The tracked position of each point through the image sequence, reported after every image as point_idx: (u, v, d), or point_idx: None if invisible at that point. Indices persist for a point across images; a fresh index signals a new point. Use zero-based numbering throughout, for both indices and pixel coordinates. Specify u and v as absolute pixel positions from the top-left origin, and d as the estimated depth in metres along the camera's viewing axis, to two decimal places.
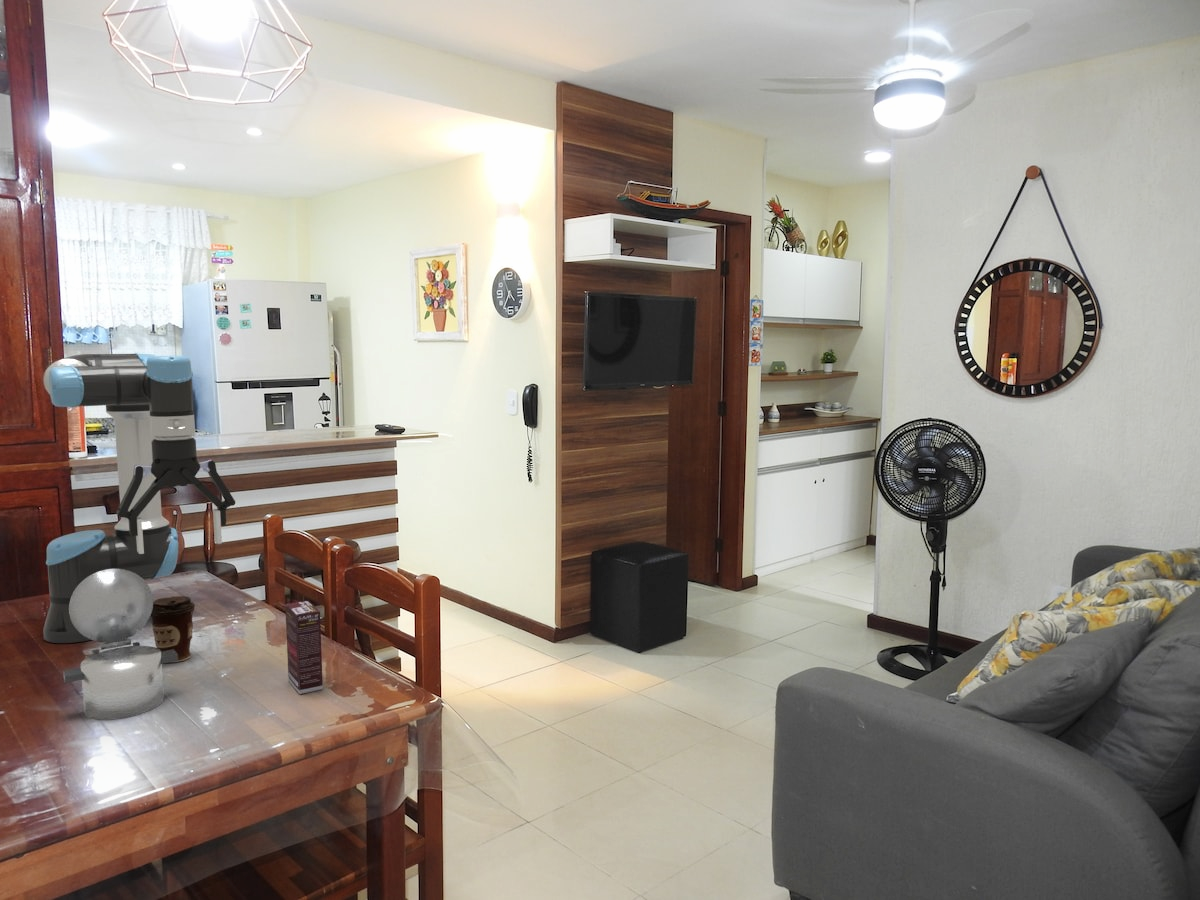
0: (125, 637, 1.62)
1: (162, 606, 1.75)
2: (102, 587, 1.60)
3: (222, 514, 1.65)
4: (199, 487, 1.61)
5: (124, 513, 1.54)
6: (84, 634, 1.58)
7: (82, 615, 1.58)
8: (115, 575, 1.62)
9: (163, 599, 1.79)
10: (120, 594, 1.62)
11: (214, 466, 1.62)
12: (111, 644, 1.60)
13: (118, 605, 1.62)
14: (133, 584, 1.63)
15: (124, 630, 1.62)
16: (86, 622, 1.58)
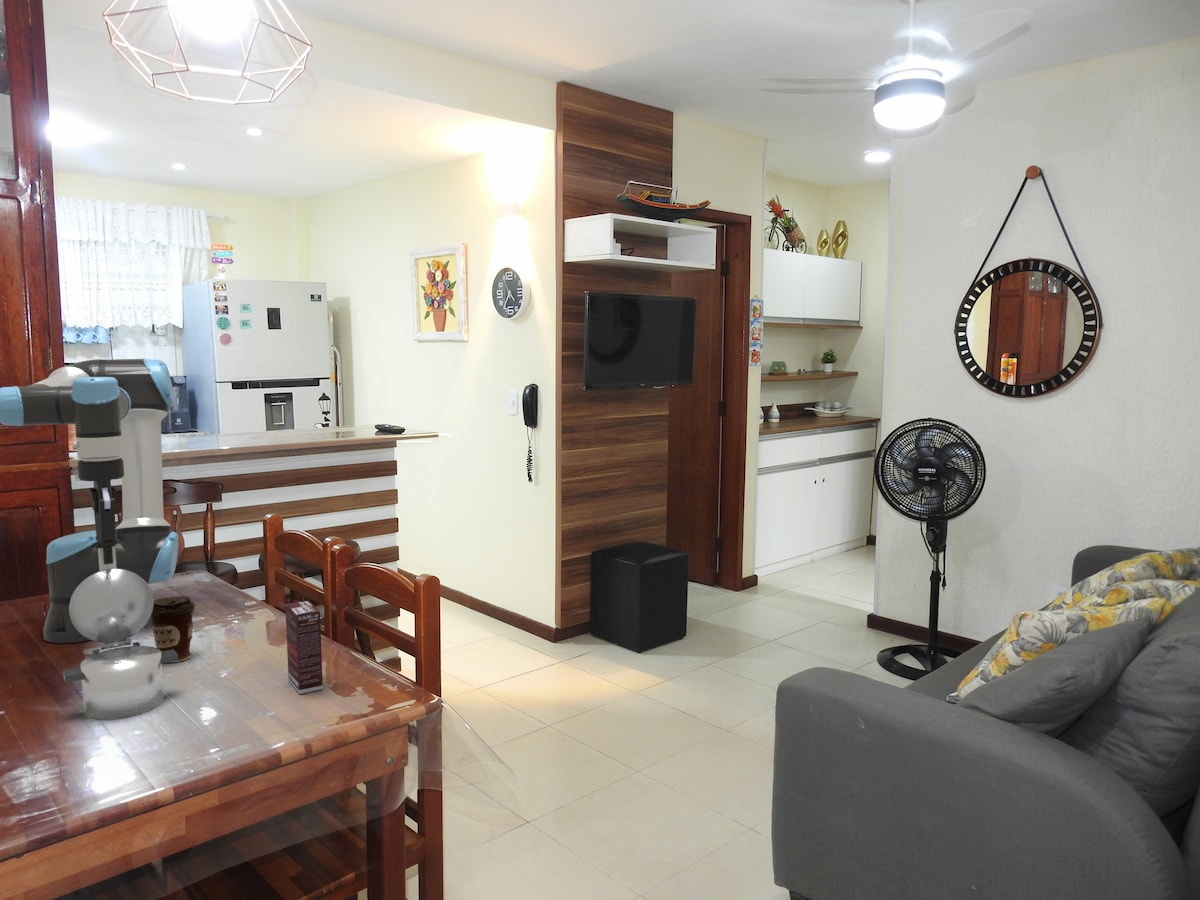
0: (125, 637, 1.62)
1: (162, 606, 1.75)
2: (103, 587, 1.60)
3: (103, 552, 1.60)
4: (97, 514, 1.59)
5: (96, 536, 1.63)
6: (84, 634, 1.58)
7: (82, 616, 1.58)
8: (116, 575, 1.61)
9: (163, 599, 1.79)
10: (120, 594, 1.62)
11: (100, 506, 1.55)
12: (111, 644, 1.60)
13: (119, 606, 1.61)
14: (134, 584, 1.63)
15: (124, 630, 1.62)
16: (86, 622, 1.58)
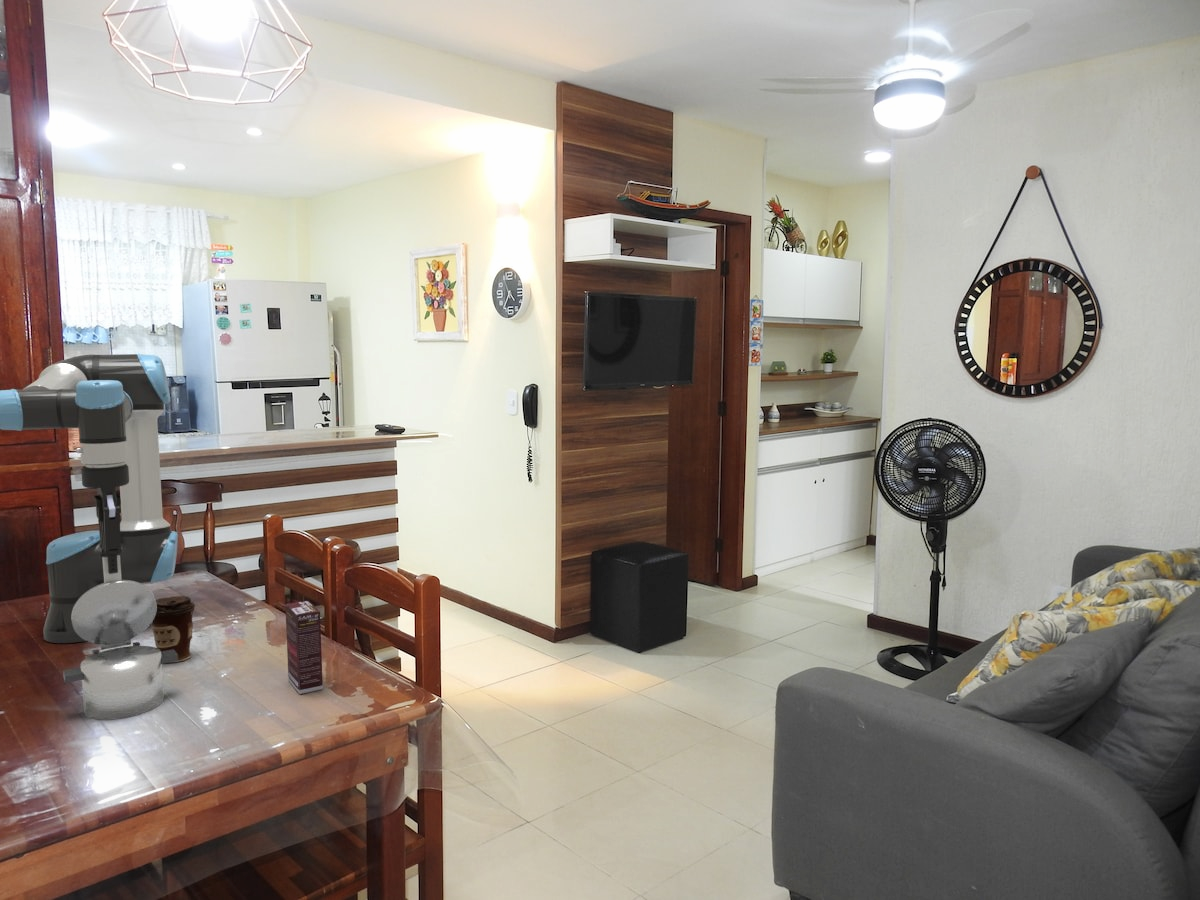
0: (126, 639, 1.62)
1: (162, 606, 1.75)
2: (107, 599, 1.56)
3: (108, 561, 1.55)
4: (101, 522, 1.54)
5: (100, 544, 1.58)
6: (85, 638, 1.57)
7: (84, 623, 1.55)
8: (121, 588, 1.56)
9: (163, 599, 1.79)
10: (124, 604, 1.58)
11: (104, 514, 1.50)
12: (111, 645, 1.60)
13: (121, 614, 1.59)
14: (138, 595, 1.59)
15: (125, 634, 1.61)
16: (87, 629, 1.56)
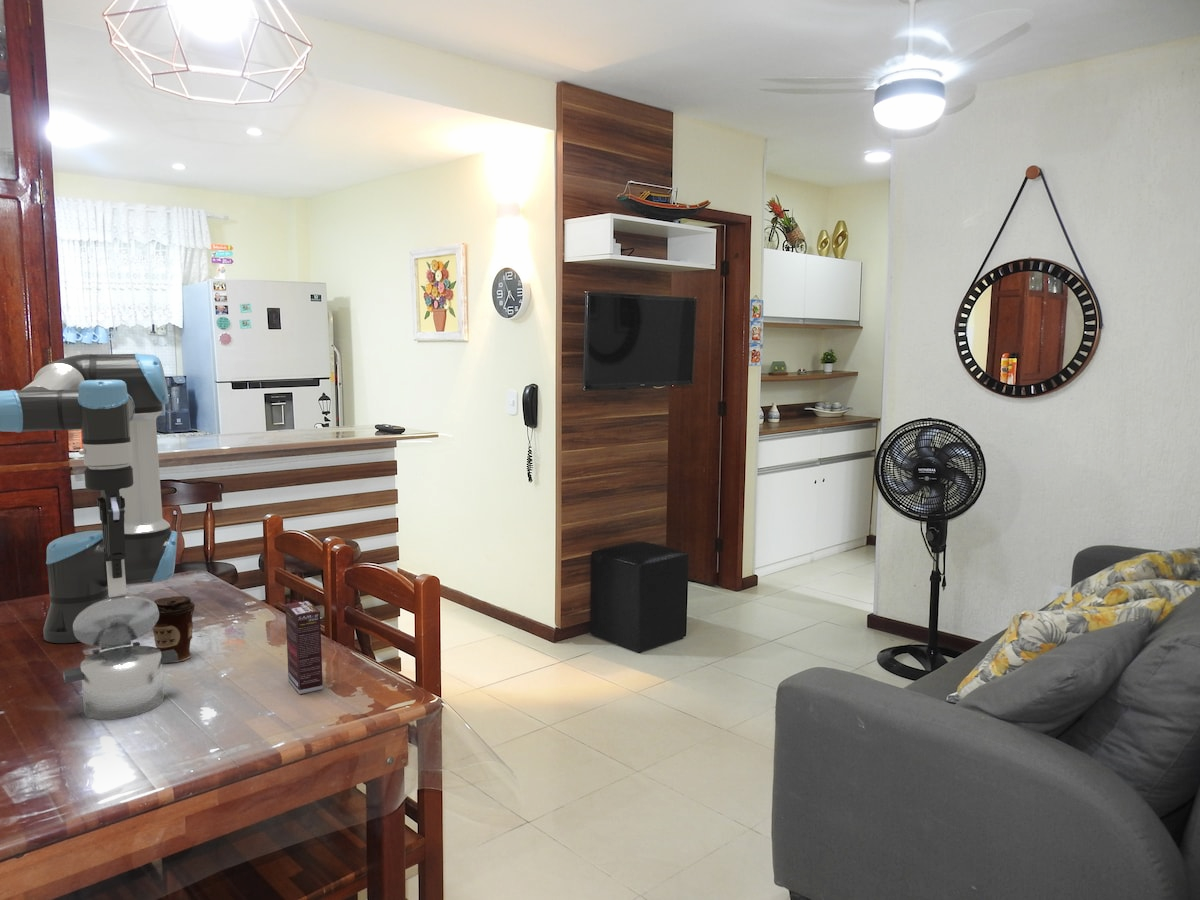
0: (126, 641, 1.62)
1: (162, 606, 1.75)
2: (110, 612, 1.54)
3: (112, 566, 1.51)
4: (105, 525, 1.50)
5: (104, 548, 1.54)
6: (86, 642, 1.56)
7: (86, 631, 1.54)
8: (124, 604, 1.54)
9: (163, 599, 1.79)
10: (127, 615, 1.56)
11: (108, 517, 1.46)
12: (111, 646, 1.60)
13: (123, 622, 1.57)
14: (141, 608, 1.57)
15: (126, 637, 1.61)
16: (88, 635, 1.55)
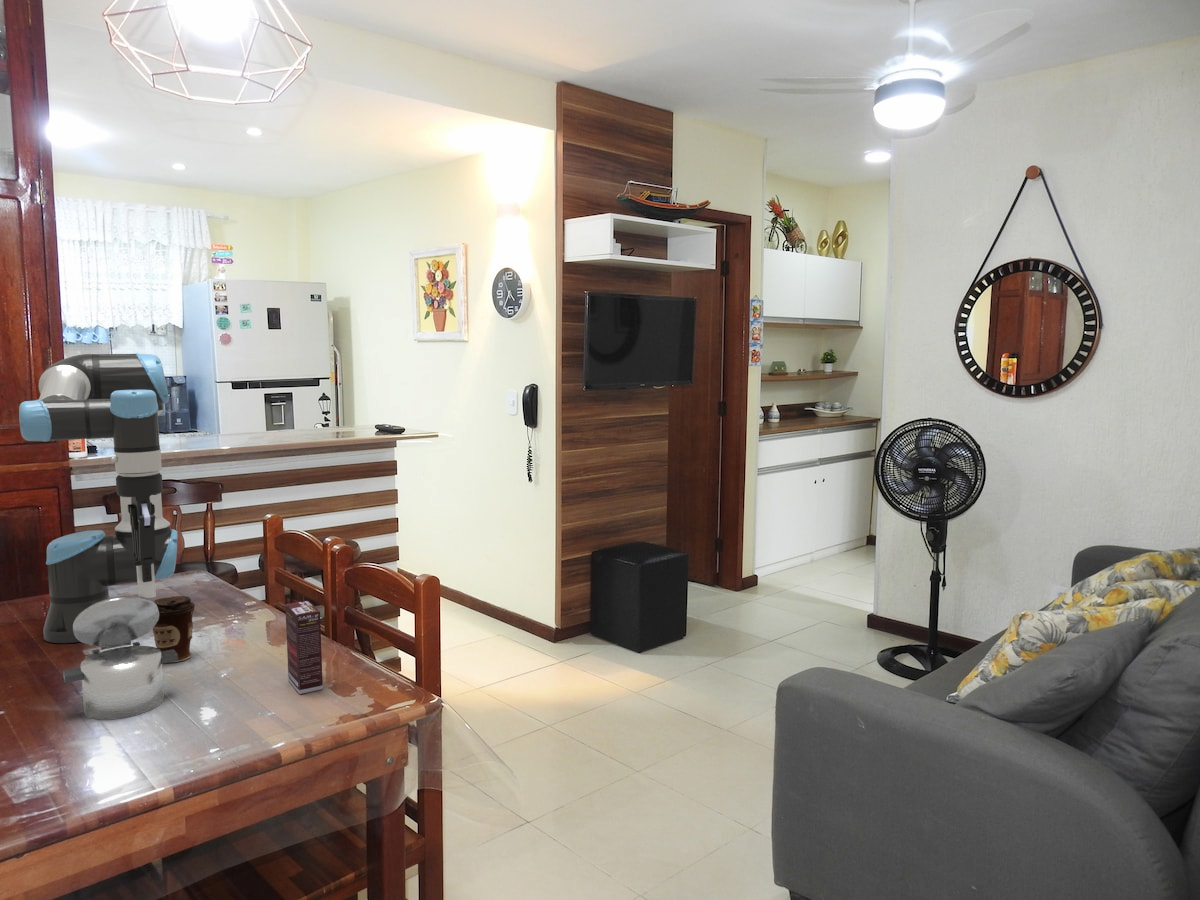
0: (126, 641, 1.62)
1: (162, 606, 1.75)
2: (110, 613, 1.54)
3: (142, 570, 1.56)
4: (136, 531, 1.55)
5: (134, 553, 1.58)
6: (86, 643, 1.56)
7: (86, 632, 1.54)
8: (124, 604, 1.54)
9: (163, 599, 1.79)
10: (127, 616, 1.56)
11: (139, 522, 1.51)
12: (111, 646, 1.60)
13: (123, 623, 1.57)
14: (141, 608, 1.57)
15: (126, 637, 1.61)
16: (89, 635, 1.55)
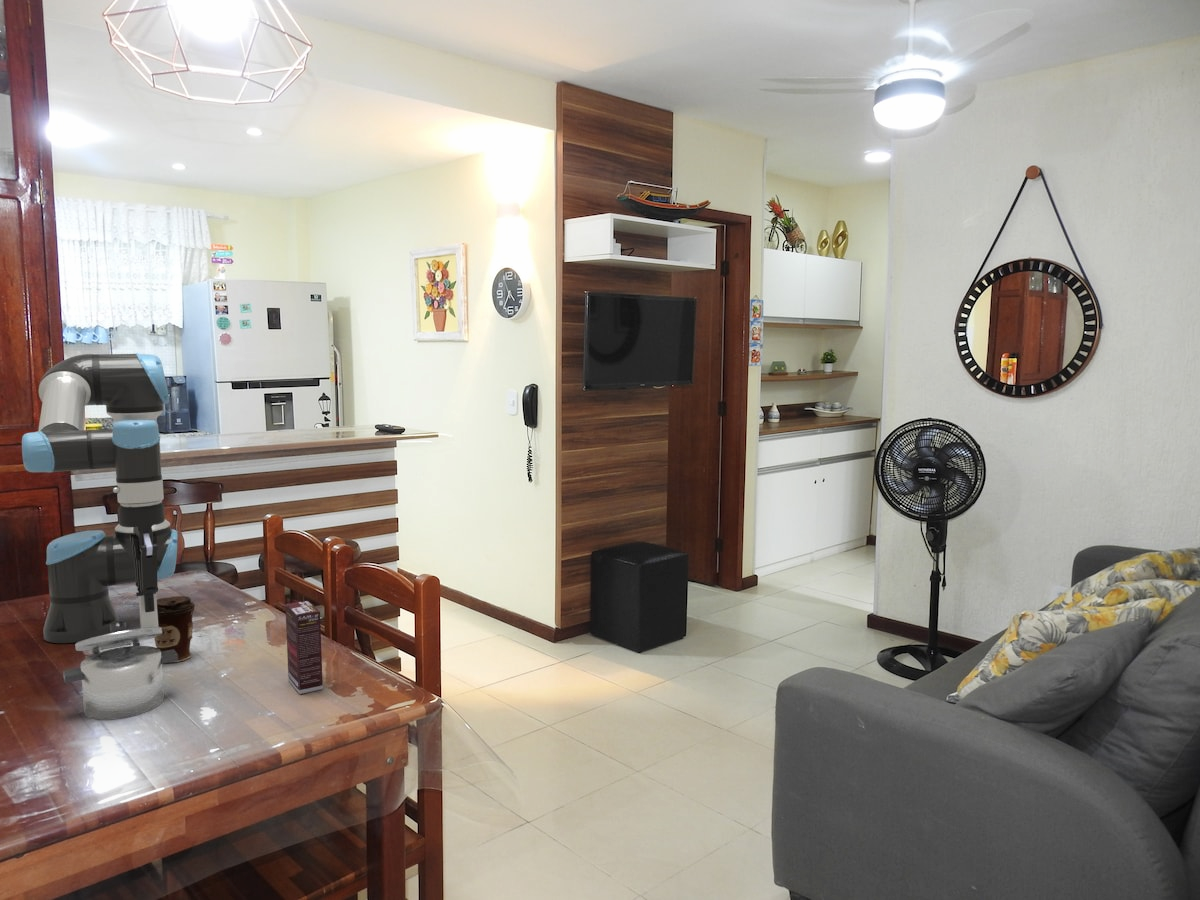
0: (126, 644, 1.62)
1: (162, 606, 1.75)
2: (114, 640, 1.52)
3: (144, 600, 1.56)
4: (138, 561, 1.55)
5: (136, 582, 1.59)
6: (87, 650, 1.56)
7: (88, 647, 1.53)
8: (129, 636, 1.52)
9: (163, 599, 1.79)
10: (130, 638, 1.55)
11: (142, 552, 1.51)
12: (111, 647, 1.61)
13: (126, 640, 1.56)
14: (145, 634, 1.55)
15: (126, 643, 1.60)
16: (90, 648, 1.55)
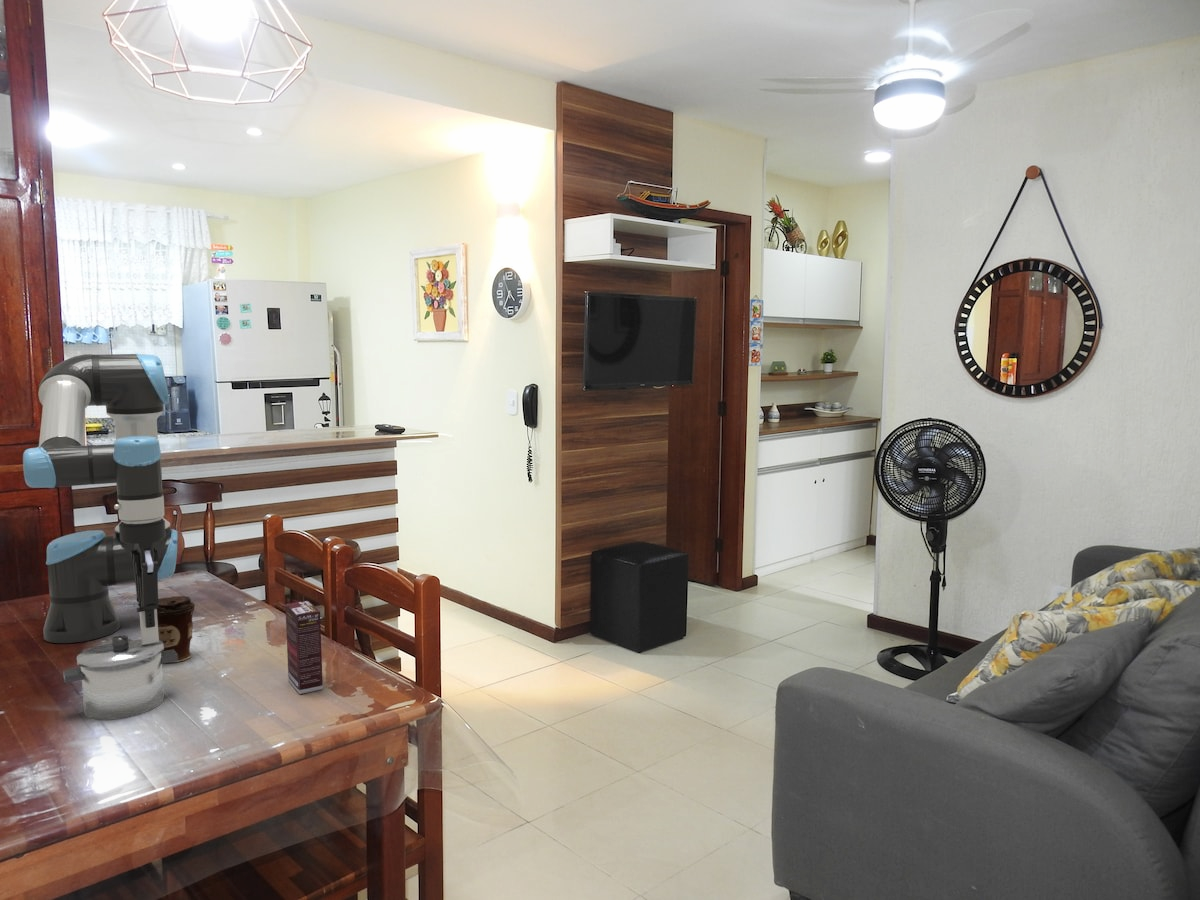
0: None
1: (162, 606, 1.75)
2: None
3: (145, 616, 1.57)
4: (139, 577, 1.56)
5: (137, 598, 1.59)
6: None
7: None
8: None
9: (163, 599, 1.79)
10: None
11: (142, 570, 1.52)
12: None
13: None
14: None
15: None
16: None
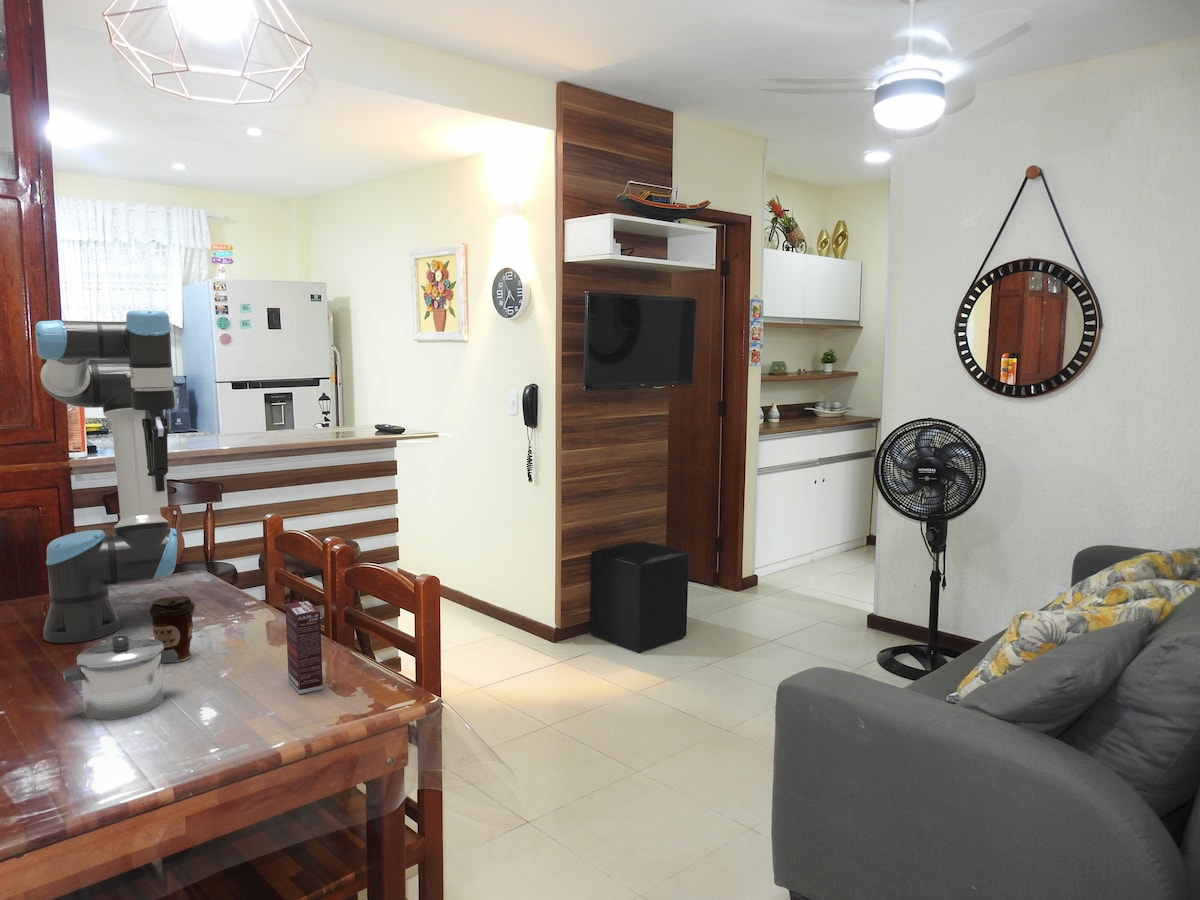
0: None
1: (162, 606, 1.75)
2: None
3: (155, 480, 1.67)
4: (150, 443, 1.66)
5: (147, 465, 1.69)
6: None
7: None
8: None
9: (163, 599, 1.79)
10: None
11: (153, 433, 1.62)
12: None
13: None
14: None
15: None
16: None
